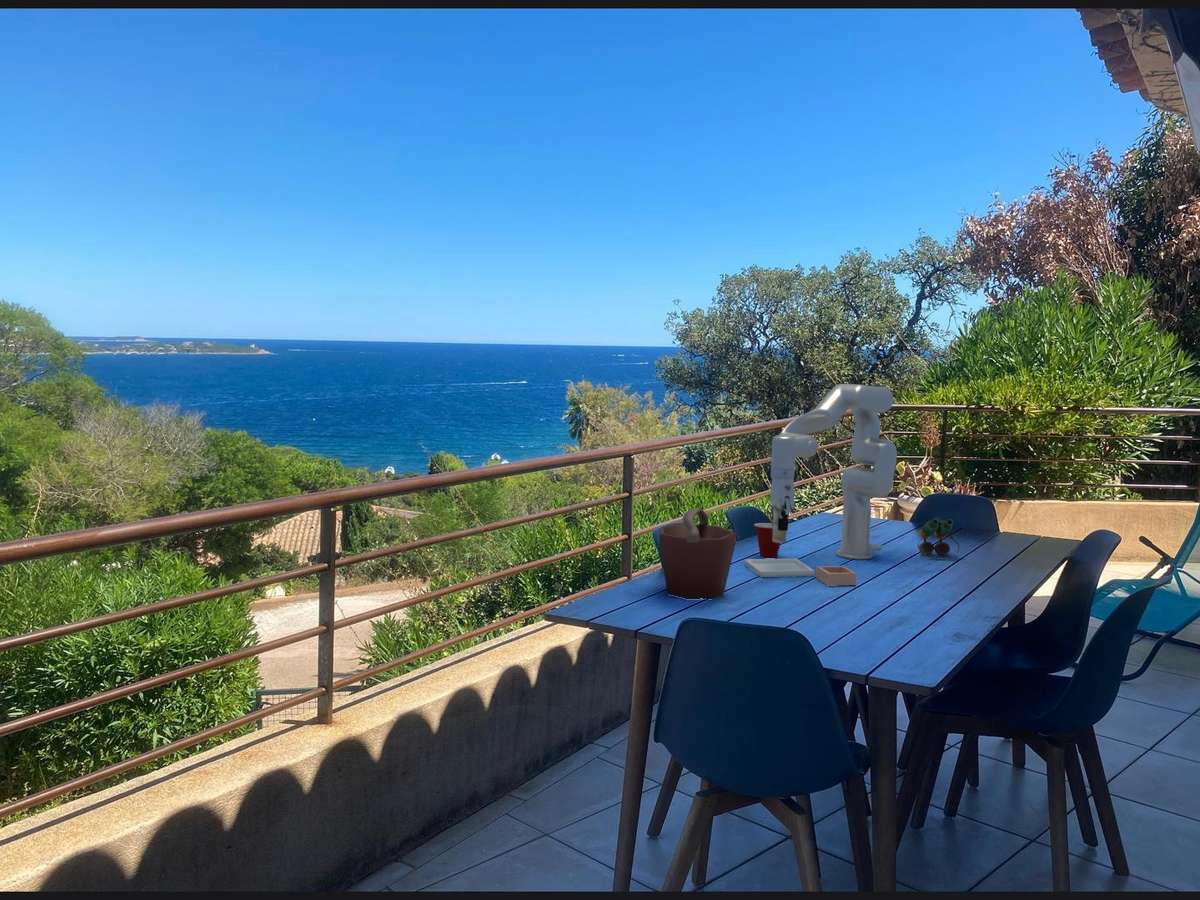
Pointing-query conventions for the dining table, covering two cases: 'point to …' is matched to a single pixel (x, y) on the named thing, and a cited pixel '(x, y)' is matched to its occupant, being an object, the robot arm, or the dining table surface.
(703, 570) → the bucket
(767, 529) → the plastic cup
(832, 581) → the terracotta holder
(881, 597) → the dining table surface
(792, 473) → the robot arm
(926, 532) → the binoculars
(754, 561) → the plastic tray
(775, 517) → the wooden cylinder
